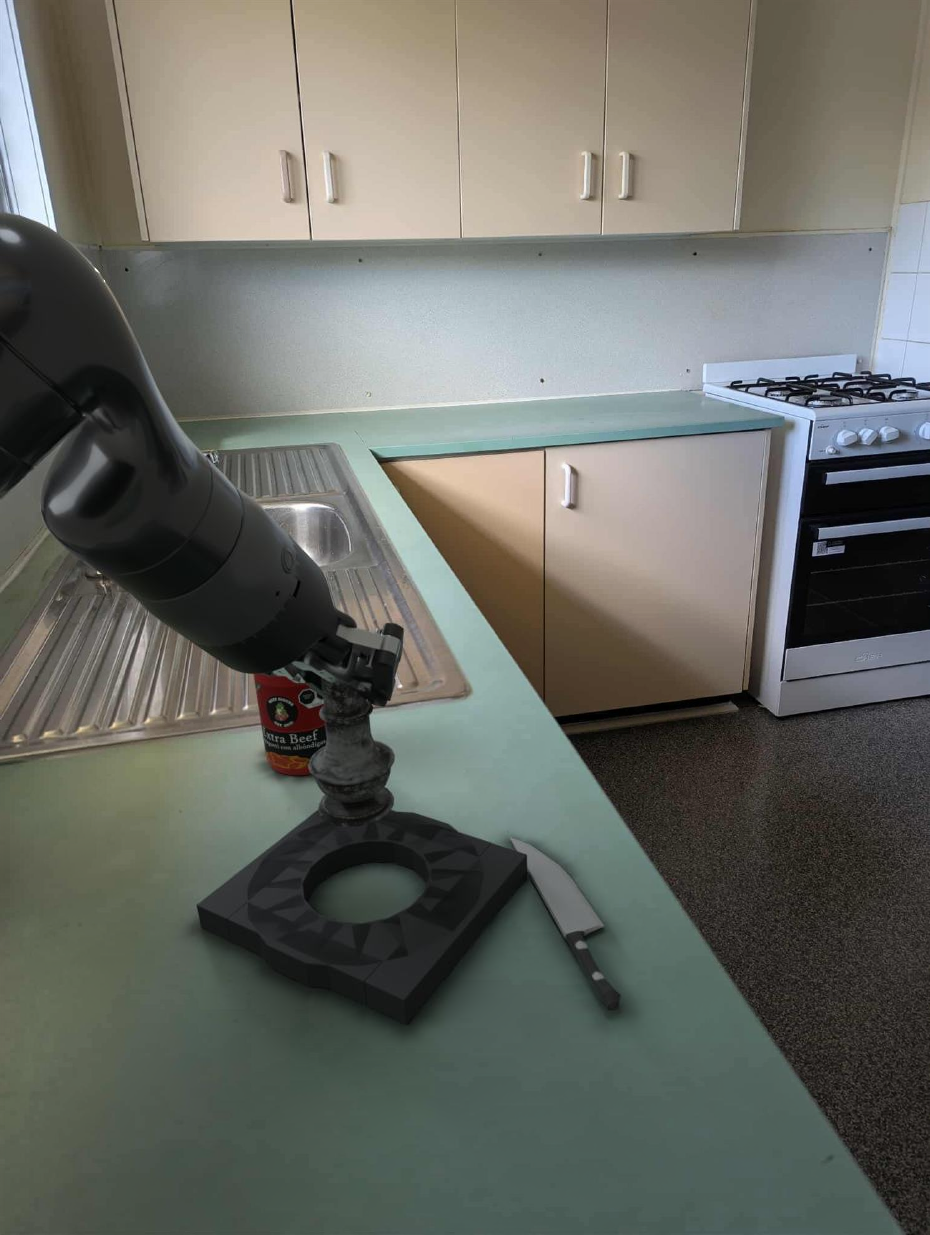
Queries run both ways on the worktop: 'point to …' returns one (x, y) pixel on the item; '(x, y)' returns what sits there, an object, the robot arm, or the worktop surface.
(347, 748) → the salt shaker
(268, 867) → the black pad
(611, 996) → the chef's knife
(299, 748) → the canned food
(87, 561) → the robot arm
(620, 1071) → the worktop surface
